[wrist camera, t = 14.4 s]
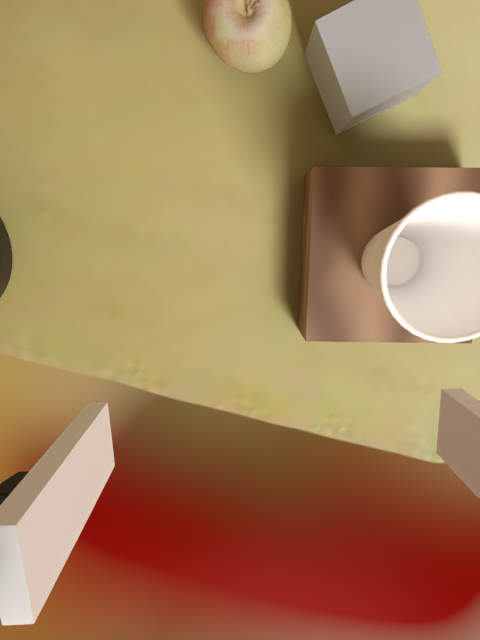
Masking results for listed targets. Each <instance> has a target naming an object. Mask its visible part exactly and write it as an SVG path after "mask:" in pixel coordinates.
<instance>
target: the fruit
mask: <svg viewBox="0 0 480 640" xmlns="http://www.w3.org/2000/svg"><path fill="white" fill-rule="evenodd" d="M203 22H204V28H205V32H206V35H207V38H208V40H209V42H210V44H211V46H212V48H213V49H214V51H215V52H216V54H217V55H218V56H219V58H220V59H221V60H222V61H223V62H225V63H226V64H227V65H229V66H230V67H232V68H235V69H237V70H239V71H242V72H247V73H257V72H262V71H265V70H267V69H269V68H271V67H272V66H274V65H275V64H276V63H278V62H279V61H280V59H281V58H282V57H283V55H284V53H285V51H286V48H287V46H288V43H289V40H290V35H291V29H292V18H291V9H290V5H289V2H288V0H206V1H205V4H204V12H203Z"/></svg>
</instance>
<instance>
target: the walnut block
mask: <svg viewBox="0 0 480 640" xmlns="http://www.w3.org/2000/svg"><path fill="white" fill-rule="evenodd" d="M456 191H472V192H477V193H480V168H442V167H346V166H314V167H313V168H312V169H311V170H310V171H309V172H308V173H307V174H306V175H305V189H304V213H303V237H302V261H301V285H300V309H299V331H300V333H301V334H302V336H303V337H304V339H305V341H332V342H411V343H442V342H435V341H430V340H426V339H423V338H421V337H419V336H416V335H414V334H412V333H411V332H409V331H408V330H406V329H405V328H404V327H402V326H401V325H400V324H399V323H398V322H397V321H396V319H395V318H394V317H393V316H392V315H391V313H390V311H389V310H388V308H387V306H386V304H385V302H384V301H383V300H382V298H381V297H380V296H379V295H378V294H377V293H376V291H375V290H374V289H373V288H372V287H371V286H370V285H369V284H368V282H367V281H366V279H365V277H364V275H363V272H362V265H361V263H362V256H363V252H364V249H365V247H366V245H367V244H368V242H369V241H370V240H371V239H372V238H373V237H374V236H375V235H376V234H378V233H379V232H381V231H382V230H384V229H386V228H387V227H389V226H391V225H392V224H394V223H396V222H397V221H399V220H401V219H402V218H403V217H405V216H406V215H407V214H408V213H409V212H410V211H411V210H412V209H413V208H415V207H416V206H418V205H420V204H421V203H423V202H424V201H426V200H428V199H431V198H433V197H436V196H438V195H441V194H445V193H450V192H456ZM455 343H472V339H470V340H466V341H461V342H455Z"/></svg>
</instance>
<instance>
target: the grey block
mask: <svg viewBox="0 0 480 640" xmlns="http://www.w3.org/2000/svg"><path fill="white" fill-rule="evenodd" d="M304 55H305V57H306V60H307V63H308V65H309V68H310V70H311V73H312V75H313V78H314V80H315V83H316V85H317V88H318V91H319V93H320V96H321V98H322V101H323V103H324V106H325V108H326V111H327V113H328V116H329V118H330V121H331V124H332V126H333V129H334V131H335V134H336V135H338V134H340V133H342V132H344V131H346V130H348V129H350V128H352V127H354V126H356V125H358V124H360V123H362V122H364V121H366V120H368V119H370V118H372V117H374V116H377V115H379V114H381V113H383V112H385V111H387V110H389V109H391V108H393V107H395V106H397V105H399V104H401V103H403V102H405V101H407V100H409V99H411V98H413V97H414V96H415V95H416V94H417V93H419V92H420V91H421V90H422V89H423V88H425V87H426V86H427V85H428V84H429V83H430V82H432V81H433V80H434V79H435V78H436V77H438V76H439V75H440V74H441V73H442V71H441V68H440V65H439V62H438V59H437V56H436V53H435V50H434V47H433V44H432V41H431V38H430V35H429V32H428V29H427V26H426V23H425V20H424V17H423V14H422V11H421V8H420V5H419V2H418V0H354V1H352V2H350V3H348V4H346V5H344V6H342V7H340V8H339V9H337V10H335V11H333V12H331V13H329V14H327V15H325V16H323V17H321V18H320V19H318V20H316V21H315V23H314V26H313V29H312V32H311V35H310V38H309V41H308V44H307V47H306V50H305V53H304Z"/></svg>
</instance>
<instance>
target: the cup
mask: <svg viewBox="0 0 480 640" xmlns="http://www.w3.org/2000/svg"><path fill="white" fill-rule="evenodd" d="M361 265H362V272H363V275H364V277H365V279H366V281H367V282H368V284H369V285H370V286H371V287H372V288H373V289H374V290H375V291H376V293H377V294H378V295H379V296H380V297H381V298H382V300H383V301H384V302H385V304H386V306H387V308H388V310H389V311H390V313H391V315H392V316H393V317H394V318H395V319H396V321H397V322H398V323H399V324H400V325H401V326H402V327H404V328H405V329H406V330H408V331H409V332H411V333H412V334H414V335H416V336H419V337H421V338H423V339H426V340H430V341H435V342H442V343H455V342H461V341H466V340H470V339H473V338H476V337H478V336H480V193H477V192H472V191H456V192H450V193H445V194H441V195H438V196H436V197H433V198H431V199H428V200H426V201H424V202H423V203H421V204H420V205H418V206H416V207H415V208H413V209H412V210H411V211H410V212H409V213H408V214H407V215H406V216H405V217H403V218H402V219H401V220H399V221H397V222H396V223H394V224H392V225H391V226H389V227H387V228H386V229H384V230H382V231H381V232H379V233H378V234H376V235H375V236H374V237H373V238H372V239H371V240H370V241H369V242H368V244H367V245H366V247H365V249H364V252H363V256H362V263H361Z"/></svg>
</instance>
